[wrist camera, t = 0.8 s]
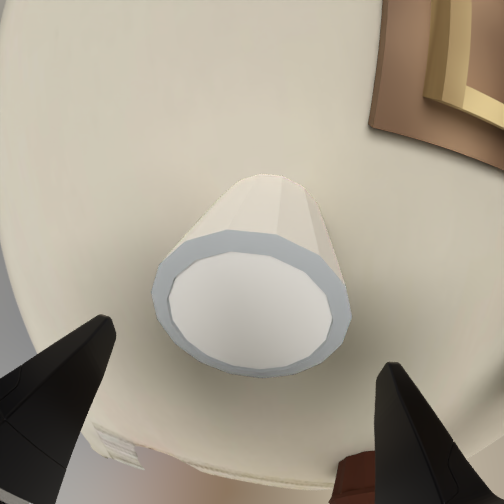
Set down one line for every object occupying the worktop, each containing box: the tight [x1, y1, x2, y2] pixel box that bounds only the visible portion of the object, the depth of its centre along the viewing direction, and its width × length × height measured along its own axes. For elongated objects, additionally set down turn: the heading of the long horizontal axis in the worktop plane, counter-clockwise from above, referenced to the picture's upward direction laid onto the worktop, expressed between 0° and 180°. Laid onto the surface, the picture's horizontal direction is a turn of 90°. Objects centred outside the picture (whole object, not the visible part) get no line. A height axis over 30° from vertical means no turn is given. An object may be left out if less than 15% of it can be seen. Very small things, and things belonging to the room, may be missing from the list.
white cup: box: [151, 174, 352, 378], centre depth 13 cm, size 7×7×7 cm
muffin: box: [329, 451, 375, 504], centre depth 29 cm, size 12×11×10 cm
